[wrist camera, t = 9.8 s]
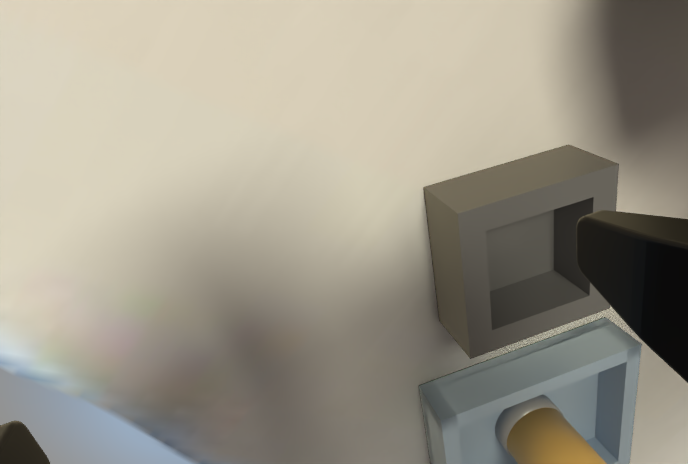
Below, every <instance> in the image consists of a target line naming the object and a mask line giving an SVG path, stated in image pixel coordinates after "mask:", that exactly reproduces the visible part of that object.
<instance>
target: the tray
mask: <svg viewBox="0 0 688 464" xmlns="http://www.w3.org/2000/svg"><path fill="white" fill-rule="evenodd" d="M641 345H642V344H641V343H639V342H638V341H637V340H635V339H634V338H633V337H631V336H630V335H629V334H627V333H626V332H625V331H623V330H622V329H621V328H619V327H618V326H617V325H615V324H614V323H613V322H611V321H610V320H609V319H607V318H606V317H605V318H602V319H600V320H597V321H594V322H591V323H589V324H586V325H583V326H581V327H578V328H575V329H572V330H570V331H567V332H564V333H561V334H559V335H556V336H553V337H550V338H548V339H545V340H542V341H540V342H537V343H534V344H531V345H529V346H526V347H523V348H520V349H518V350H515V351H512V352H510V353H507V354H504V355H501V356H499V357H496V358H493V359H490V360H488V361H485V362H482V363H480V364H477V365H474V366H471V367H469V368H466V369H463V370H460V371H458V372H455V373H452V374H449V375H447V376H444V377H441V378H439V379H436V380H433V381H430V382H428V383H425V384H422V385H419V390H420V397H421V403H422V410H423V416H424V423H425V430H426V436H427V443H428V450H429V456H430V463H431V464H518V463H517V462H516V460H515V459H514V458H513V457H512V456H510V455H509V454H508V453H507V451H506V450H505V448H504V447H503V446H502V444H501V443H500V442H499V440H498V439H497V437H496V434H495V425H496V422H497V419H498V417H499V416H500V414H501V413H502V411H503V410H504V409H506V408H508V407H511V406H514V405H516V404H519V403H521V402H524V401H527V400H529V399H532V398H534V397H537V396H539V395H542V394H543V395H545V396H547V397H548V398H549V399H550V400H551V401H552V402H553V403H554V404H555V405H556V406H557V407H558V408H559V410H560V411H561V412H562V413H563V416H564V418H565V419H566V420H567V421H568V422H569V423H570V424H571V425H572V426H573V427H574V429H575V430H576V431H577V432H578V433H579V434H580V435H581V436H582V437H583V438H584V439H585V440H586V442H587V443H588V444H589V445H590V446H591V447H592V448H593V449H594V450H595V451H596V452H597V454H598V455H599V456H600V457H601V458H602V459H603V460H604V461H605V462H606V463H607V464H630V454H631V444H632V434H633V424H634V414H635V404H636V395H637V385H638V375H639V365H640V355H641Z"/></svg>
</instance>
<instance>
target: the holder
mask: <svg viewBox="0 0 688 464" xmlns="http://www.w3.org/2000/svg"><path fill="white" fill-rule="evenodd" d="M618 168H619V164H617V163H615V162H612V161H610V160H607V159H604V158H602V157H599V156H597V155H594V154H592V153H589V152H586V151H584V150H581V149H579V148H576V147H574V146H571V145H566V146H562V147H559V148H556V149H552V150H549V151H545V152H542V153H539V154H535V155H532V156H528V157H525V158H522V159H518V160H515V161H511V162H508V163H504V164H501V165H498V166H494V167H491V168H487V169H484V170H481V171H477V172H474V173H470V174H467V175H464V176H460V177H457V178H453V179H450V180H447V181H443V182H440V183H436V184H433V185H430V186H426V187H424V194H425V202H426V211H427V219H428V228H429V236H430V245H431V253H432V262H433V270H434V279H435V287H436V296H437V304H438V313H439V321H440V322H441V323H442V324H443V326H444V327H445V328H446V329H447V331H448V332H449V333H450V334H451V336H452V337H453V338H454V339H455V340H456V342H457V343H458V344H459V345H460V347H461V348H462V349H463V350H464V351H465V353H466V354H467V355H468V356H469V358H470V359H471V358H474V357H477V356H479V355H482V354H485V353H488V352H490V351H493V350H496V349H499V348H501V347H504V346H507V345H510V344H512V343H515V342H518V341H521V340H523V339H526V338H529V337H532V336H534V335H537V334H540V333H543V332H545V331H548V330H551V329H554V328H557V327H559V326H562V325H565V324H568V323H570V322H573V321H576V320H579V319H581V318H584V317H587V316H590V315H592V314H595V313H598V312H601V311H603V310H606V309H609V308H610V304H609V303H608V302H607V301H606V300H605V299H604V298H603V296H602V295H601V294H600V293H599V292H598V291H597V290H596V289H595V287H594V286H593V285H592V284H591V283H590V282H589V281H588V280H587V278H586V277H585V276H584V275H583V274H582V272H581V271H580V269H579V267H578V264H577V258H576V225H577V222H578V220H579V219H580V218H581V217H583V216H586V215H589V214H591V213H594V212H597V211H601V210H607V211H616V200H617V184H618Z"/></svg>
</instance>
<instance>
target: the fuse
mask: <svg viewBox="0 0 688 464" xmlns="http://www.w3.org/2000/svg"><path fill="white" fill-rule="evenodd" d="M495 434H496V437H497V439H498V440H499V442H500V443H501V444H502V446H503V447H504V448H505V450H506V451H507V453H508V454H509V455H510V456H512V457H513V458H514V459H515V460H516V462H517V463H518V464H607V463H606V462H605V461H604V460H603V459H602V458H601V457H600V456H599V455H598V454H597V452H596V451H595V450H594V449H593V448H592V447H591V446H590V445H589V444H588V443H587V442H586V440H585V439H584V438H583V437H582V436H581V435H580V434H579V433H578V432H577V431H576V430H575V429H574V427H573V426H572V425H571V424H570V423H569V422H568V421H567V420H566V419H565V418H564V416H563V413H562V412H561V411H560V410H559V408H558V407H557V406H556V405H555V404H554V403H553V402H552V401H551V400H550V399H549V398H548V397H547V396H545V395H543V394H542V395H539V396H537V397H534V398H532V399H529V400H527V401H524V402H521V403H519V404H516V405H514V406H511V407H508V408H506V409H504V410H503V411H502V413H501V414H500V416H499V417H498V419H497V422H496V425H495Z"/></svg>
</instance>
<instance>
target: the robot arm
mask: <svg viewBox="0 0 688 464" xmlns="http://www.w3.org/2000/svg"><path fill="white" fill-rule="evenodd" d="M576 258H577V264H578V267H579V269H580V271H581V272H582V274H583V275H584V276H585V277H586V278H587V280H588V281H589V282H590V283H591V284H592V285H593V286H594V287H595V289H596V290H597V291H598V292H599V293H600V294H601V295H602V296H603V298H604V299H605V300H606V301H607V302H608V303H609V304H610V305H611V307H612V308H613V309H614V310H615V311H616V312H617V313H618V314H619V316H620V317H621V318H622V319H623V320H624V321H625V322H626V323H627V325H628V326H629V327H630V328H631V329H632V330H633V331H634V332H635V333H636V334H637V335H638V336H639V338H640V339H641V340H643V341H644V342H645V343H646V344H647V345H648V346H649V347H650V348H651V349H652V350H653V351H654V352H655V353H656V354H657V355H658V356H659V357H660V358H662V359H663V360H664V361H665V362H666V363H667V364H668V365H669V366H670V367H671V368H672V369H673V370H675V371H676V372H677V373H678V374H679V375H680V376H681V377H682V378H683V379H684V380H685V381H686V382H688V219H680V218H671V217H662V216H653V215H644V214H635V213H625V212H616V211H607V210H601V211H597V212H594V213H591V214H589V215H586V216H583V217H581V218H580V219H579V220H578V222H577V225H576ZM0 464H50V462H49V460H48V458H47V456H46V455H45V453H44V452H43V450H42V449H41V447H40V446H39V444H38V443H37V442H36V440H35V439H34V437H33V436H32V434H31V433H30V432H29V430H28V429H27V427H26V426H25V425H24V424H23V423H22V422H19V421H11V422H9V423H6V424H3V425H0Z"/></svg>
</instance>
